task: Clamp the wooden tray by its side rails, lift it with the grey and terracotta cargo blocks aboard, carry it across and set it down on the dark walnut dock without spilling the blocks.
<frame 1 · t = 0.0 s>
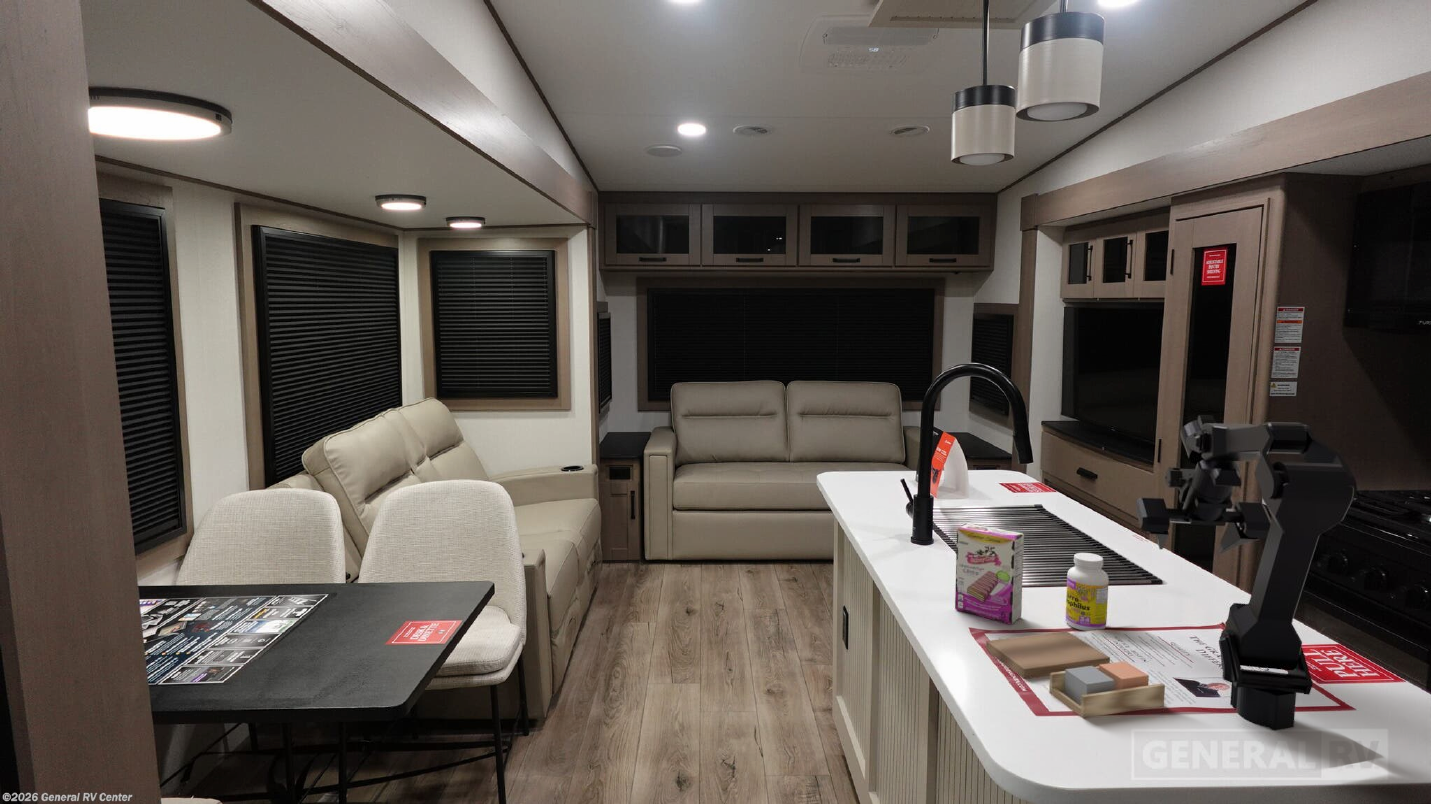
hand: (1190, 549, 127), 15 cm above the kitchen island, tool tilted 35°, fingers open, 9 cm apart
supplement bottle: (1085, 626, 132), on the kitchen island
candy bar box: (987, 615, 138), on the kitchen island
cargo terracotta: (1122, 696, 105), point 1 cm above the kitchen island, touching wooden tray
wooden tray: (1105, 708, 105), on the kitchen island, touching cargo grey, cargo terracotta
dock: (1045, 667, 117), on the kitchen island
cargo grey: (1088, 701, 104), point 1 cm above the kitchen island, touching wooden tray
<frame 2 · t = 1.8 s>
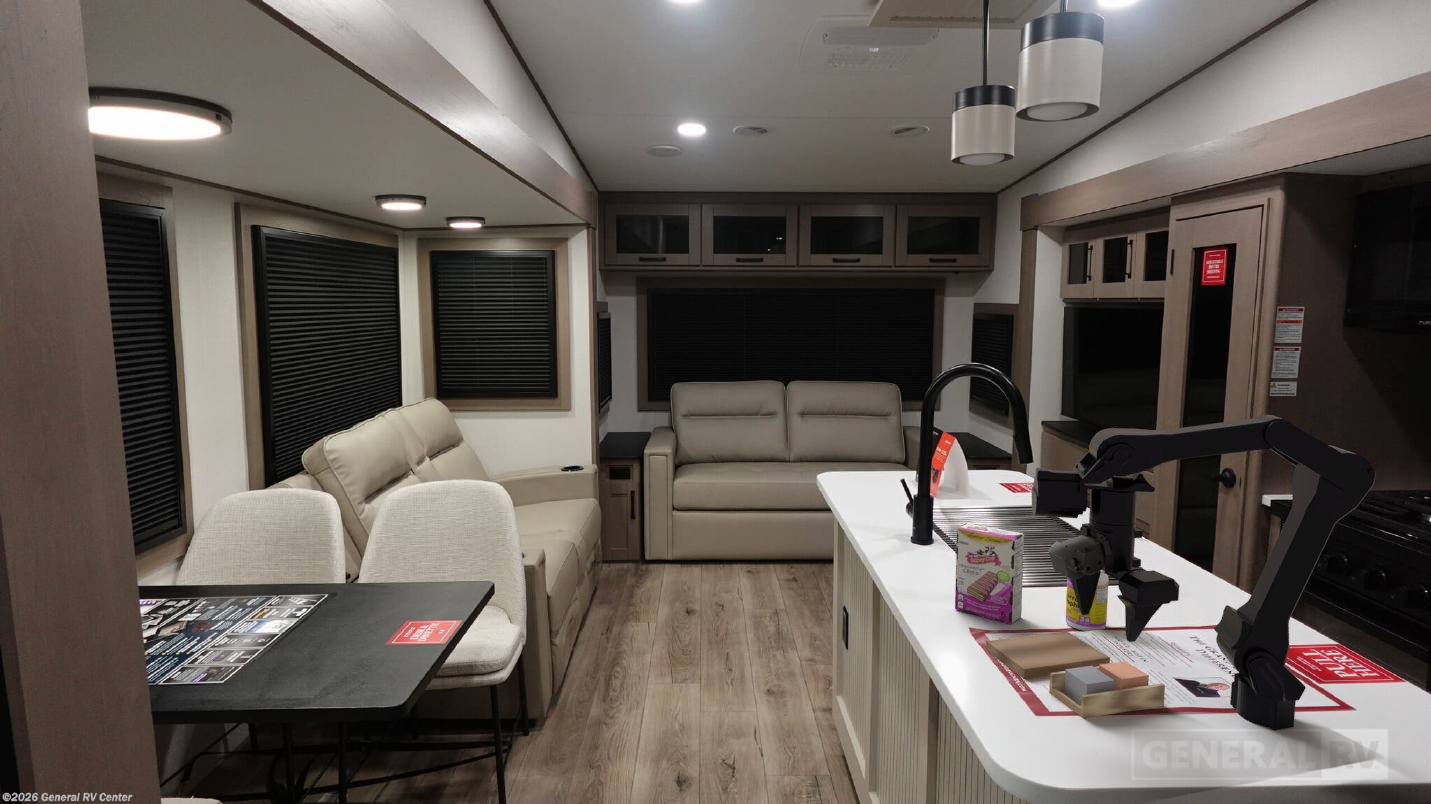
hand: (1106, 627, 104), 12 cm above the kitchen island, tool pointing down, fingers open, 9 cm apart
nothing on the kitchen island moved.
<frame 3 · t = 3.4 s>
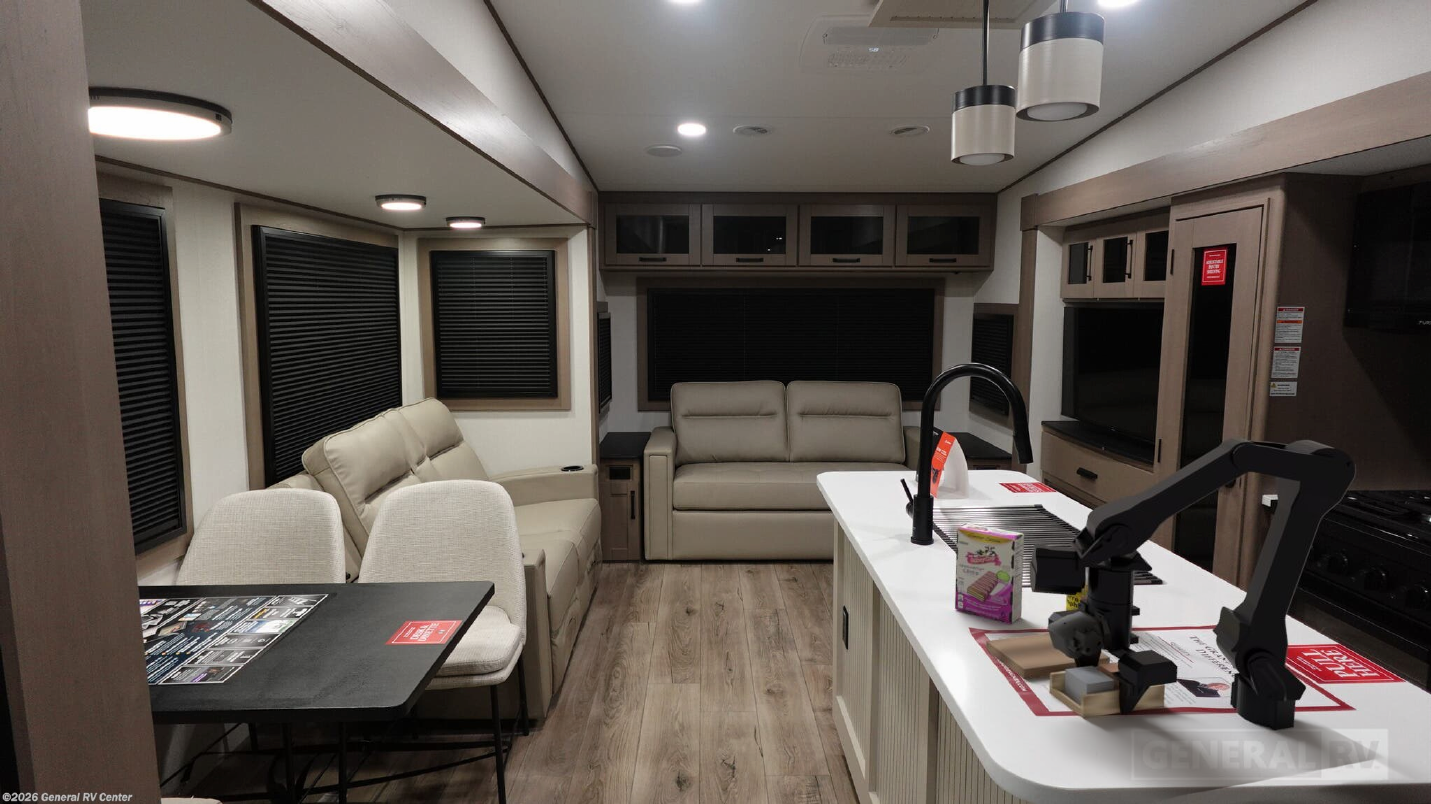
hand: (1105, 702, 104), 1 cm above the kitchen island, tool pointing down, fingers closed on wooden tray, 7 cm apart
wooden tray: (1105, 708, 105), on the kitchen island, touching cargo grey, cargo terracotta, gripper
everything else where it was.
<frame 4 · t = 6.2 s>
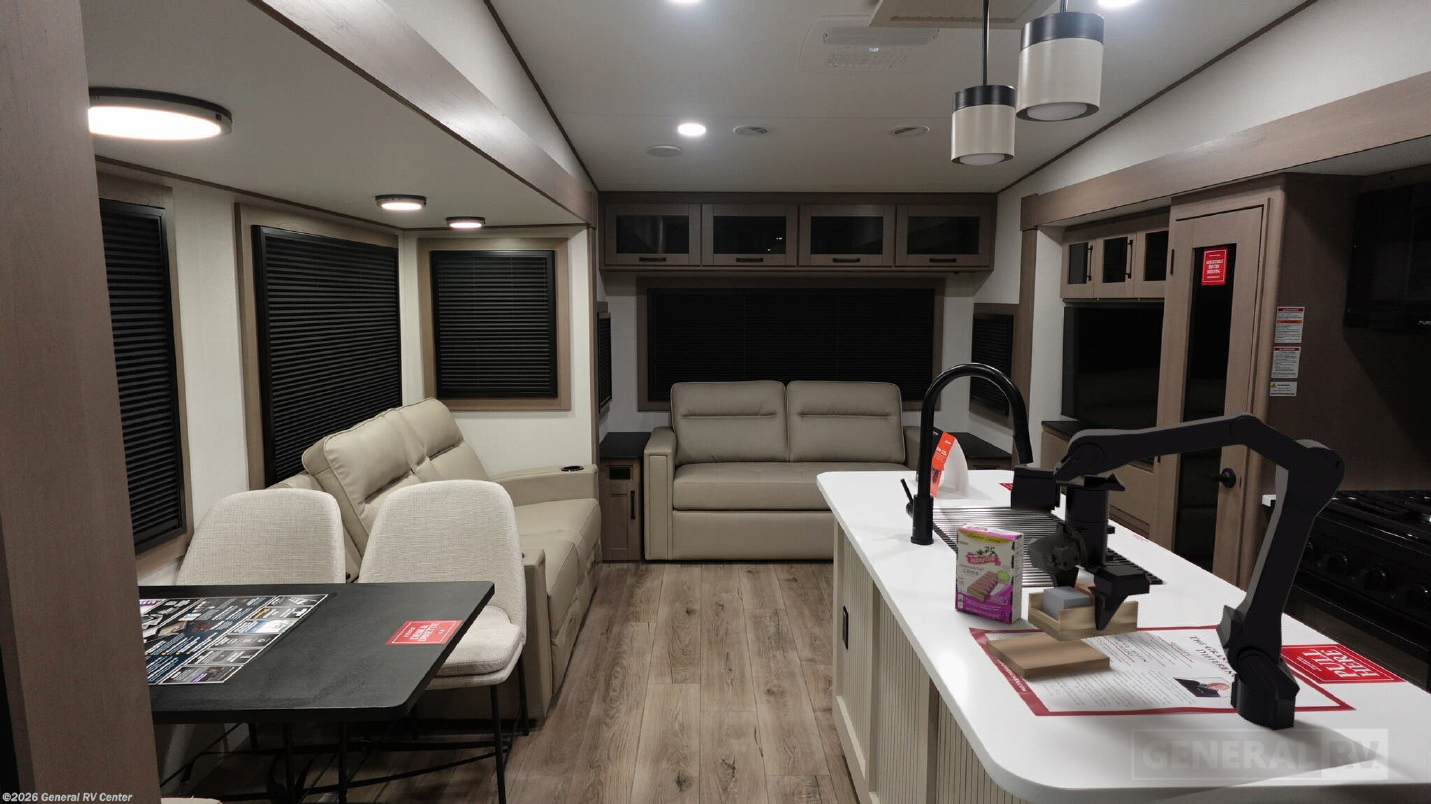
hand: (1081, 619, 108), 11 cm above the kitchen island, tool pointing down, fingers closed on wooden tray, 7 cm apart
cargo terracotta: (1097, 614, 109), point 12 cm above the kitchen island, touching wooden tray
wooden tray: (1081, 626, 108), point 10 cm above the kitchen island, touching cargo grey, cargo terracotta, gripper
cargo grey: (1065, 619, 107), point 12 cm above the kitchen island, touching wooden tray
everything else where it was.
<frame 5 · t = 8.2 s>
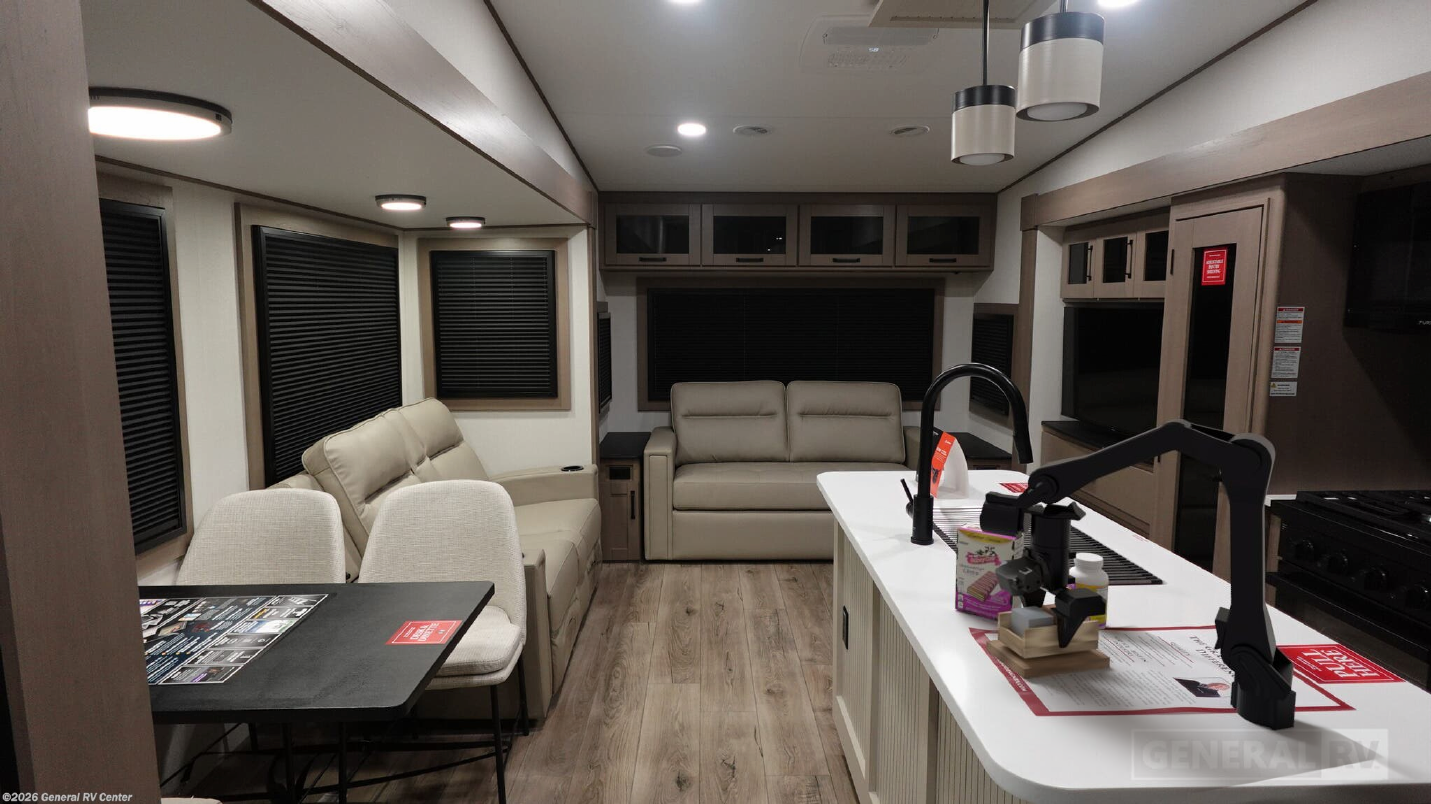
hand: (1047, 637, 117), 5 cm above the kitchen island, tool pointing down, fingers closed on wooden tray, 7 cm apart
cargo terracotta: (1062, 633, 117), point 5 cm above the kitchen island, touching wooden tray
wooden tray: (1046, 644, 117), point 4 cm above the kitchen island, touching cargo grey, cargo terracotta, gripper
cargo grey: (1031, 637, 116), point 5 cm above the kitchen island, touching wooden tray
everything else where it was.
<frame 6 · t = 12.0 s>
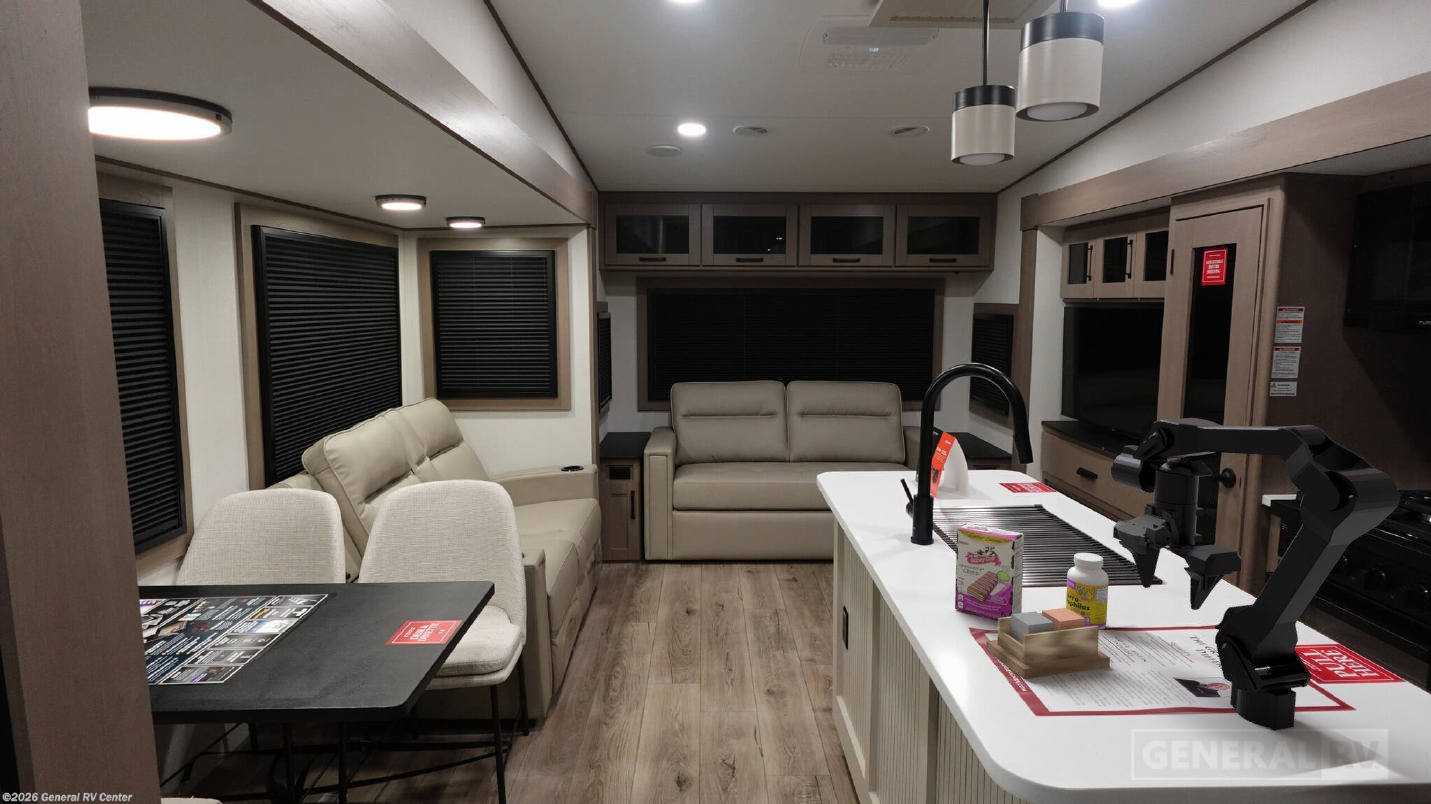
hand: (1169, 598, 114), 12 cm above the kitchen island, tool pointing down, fingers open, 9 cm apart
wooden tray: (1046, 649, 117), point 3 cm above the kitchen island, touching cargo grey, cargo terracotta, dock
at the end: wooden tray 0.1 cm off-centre on the dock, point 3.0 cm above the dock's base; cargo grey inside the target area on the wooden tray (2.8 cm from its centre), point 1.5 cm above the wooden tray's base; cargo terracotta inside the target area on the wooden tray (2.8 cm from its centre), point 1.5 cm above the wooden tray's base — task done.
